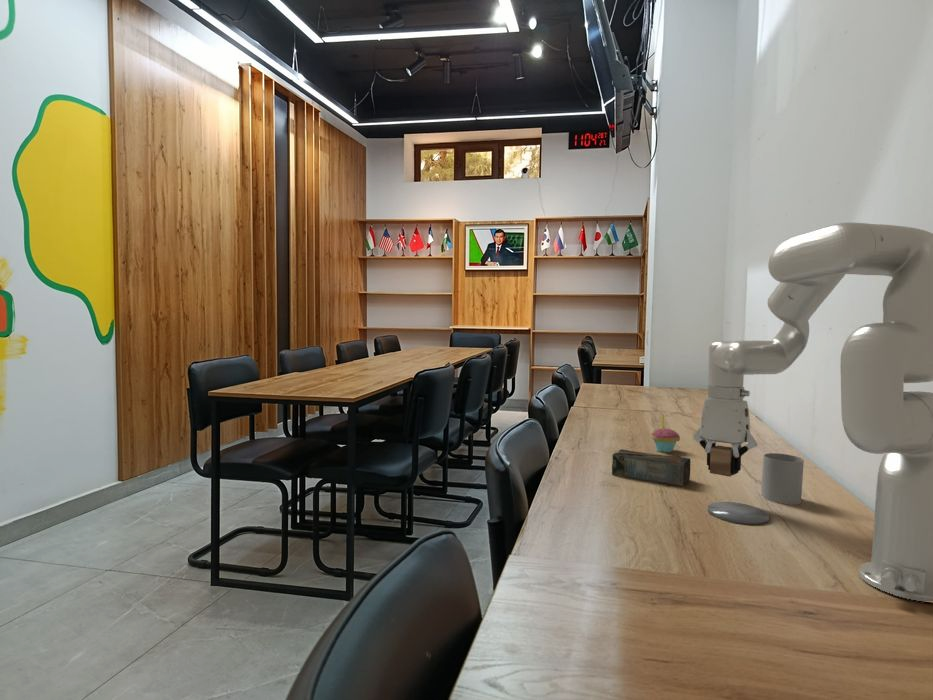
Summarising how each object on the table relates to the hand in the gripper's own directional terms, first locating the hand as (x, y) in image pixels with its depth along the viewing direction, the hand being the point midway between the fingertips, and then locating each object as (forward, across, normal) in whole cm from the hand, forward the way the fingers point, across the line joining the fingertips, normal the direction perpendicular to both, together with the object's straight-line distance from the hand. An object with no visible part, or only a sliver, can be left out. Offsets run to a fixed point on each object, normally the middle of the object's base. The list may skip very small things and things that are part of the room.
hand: (723, 470), depth 132 cm
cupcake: (+5, +32, -38) cm, 50 cm away
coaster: (+7, -6, +7) cm, 12 cm away
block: (+1, 0, 0) cm, 1 cm away
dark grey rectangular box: (+7, +21, -5) cm, 22 cm away
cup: (+7, -9, -13) cm, 17 cm away
